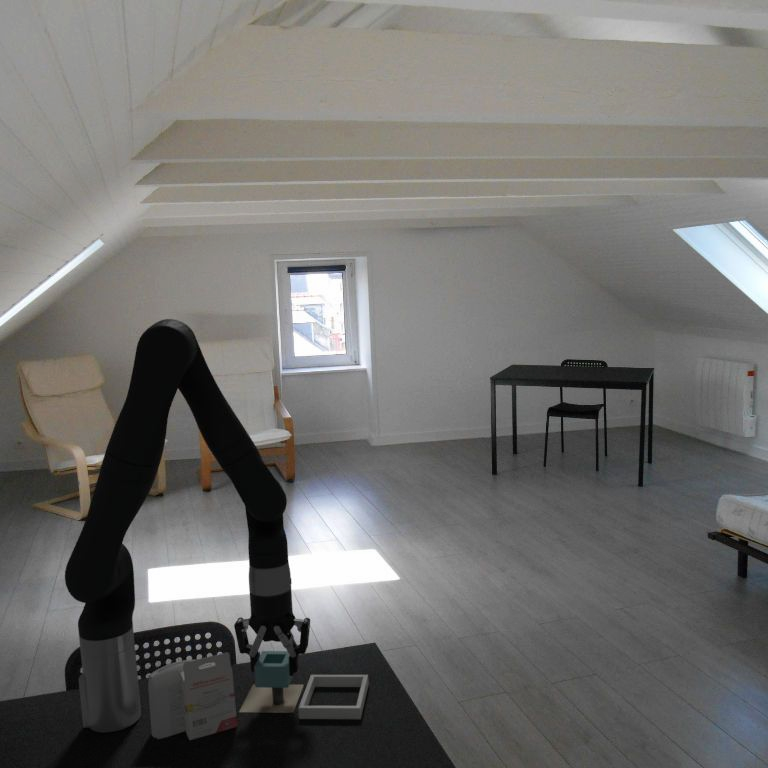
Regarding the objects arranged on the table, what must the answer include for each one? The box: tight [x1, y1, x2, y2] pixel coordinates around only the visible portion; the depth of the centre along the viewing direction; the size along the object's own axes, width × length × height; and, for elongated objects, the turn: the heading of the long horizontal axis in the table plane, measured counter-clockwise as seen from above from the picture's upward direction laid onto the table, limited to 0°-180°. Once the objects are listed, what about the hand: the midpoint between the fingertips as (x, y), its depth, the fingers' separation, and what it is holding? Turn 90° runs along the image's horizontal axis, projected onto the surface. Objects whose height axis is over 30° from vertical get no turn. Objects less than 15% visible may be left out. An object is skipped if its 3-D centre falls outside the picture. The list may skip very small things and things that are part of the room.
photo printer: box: [147, 659, 195, 740], centre depth 140 cm, size 10×4×12 cm, turn 121°
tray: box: [298, 674, 370, 720], centre depth 147 cm, size 11×12×3 cm
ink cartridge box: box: [180, 651, 238, 741], centre depth 140 cm, size 9×5×15 cm, turn 115°
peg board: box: [238, 683, 305, 714], centre depth 149 cm, size 10×10×4 cm
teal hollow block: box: [254, 650, 294, 688], centre depth 148 cm, size 6×8×4 cm
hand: (275, 673), depth 147 cm, fingers closed on teal hollow block, 6 cm apart
